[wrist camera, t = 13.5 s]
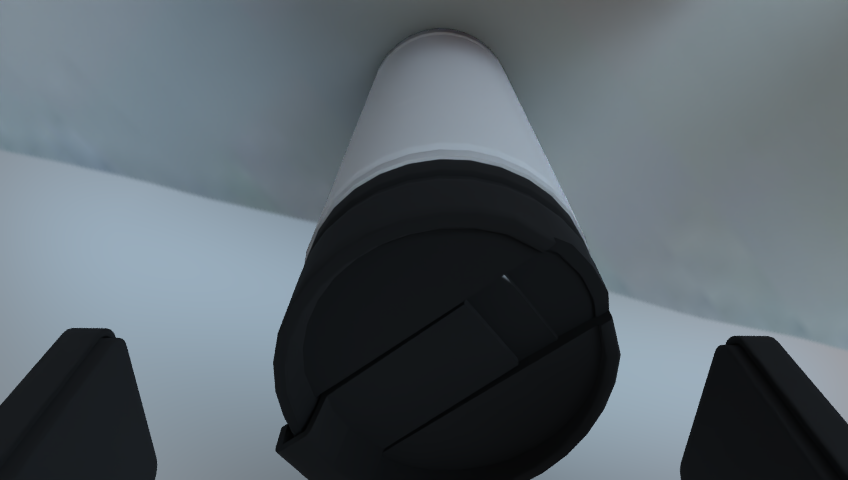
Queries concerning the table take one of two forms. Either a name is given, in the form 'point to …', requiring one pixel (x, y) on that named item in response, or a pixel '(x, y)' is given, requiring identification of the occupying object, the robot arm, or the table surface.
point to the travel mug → (443, 290)
